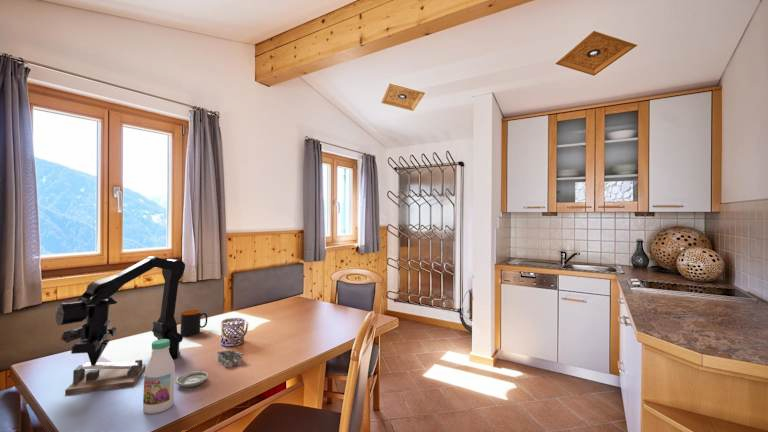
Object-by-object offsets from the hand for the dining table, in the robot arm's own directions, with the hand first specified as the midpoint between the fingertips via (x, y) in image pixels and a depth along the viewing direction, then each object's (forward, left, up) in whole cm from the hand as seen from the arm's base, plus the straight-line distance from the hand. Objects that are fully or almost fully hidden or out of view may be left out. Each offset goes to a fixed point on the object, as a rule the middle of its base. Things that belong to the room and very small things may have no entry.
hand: (93, 364), depth 115 cm
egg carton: (-42, -4, -7) cm, 43 cm away
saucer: (-31, +11, -7) cm, 34 cm away
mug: (-24, -44, -6) cm, 51 cm away
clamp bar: (-5, 0, -2) cm, 6 cm away
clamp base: (-4, 0, -6) cm, 7 cm away
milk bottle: (-24, +24, -6) cm, 35 cm away
